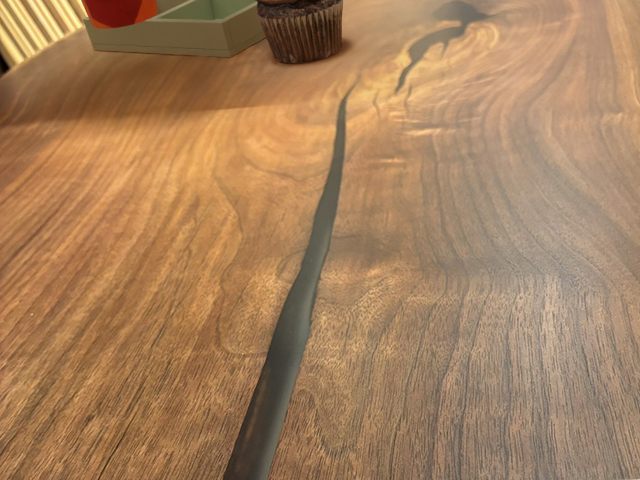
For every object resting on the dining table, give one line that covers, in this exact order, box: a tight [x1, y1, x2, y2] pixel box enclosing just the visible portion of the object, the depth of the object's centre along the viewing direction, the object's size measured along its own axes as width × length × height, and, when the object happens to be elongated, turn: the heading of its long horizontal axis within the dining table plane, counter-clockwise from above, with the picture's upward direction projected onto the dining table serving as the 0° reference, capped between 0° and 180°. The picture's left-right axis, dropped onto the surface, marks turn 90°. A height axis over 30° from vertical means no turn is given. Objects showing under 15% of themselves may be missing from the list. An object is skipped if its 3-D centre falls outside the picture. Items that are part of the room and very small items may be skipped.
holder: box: [82, 0, 266, 58], centre depth 91 cm, size 12×23×4 cm, turn 61°
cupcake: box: [255, 0, 344, 64], centre depth 79 cm, size 10×10×10 cm
